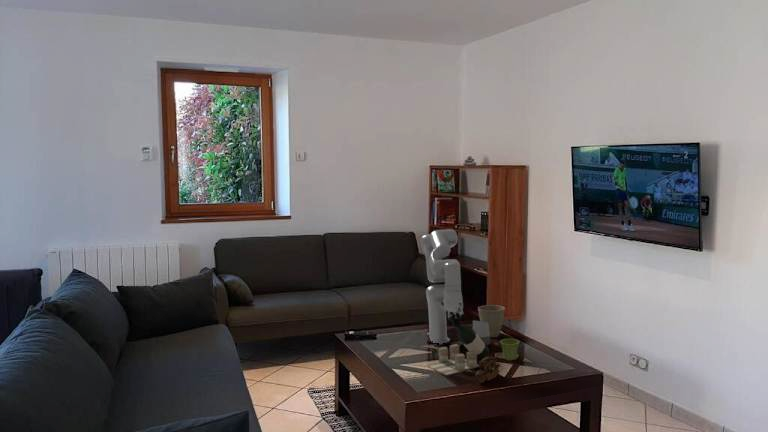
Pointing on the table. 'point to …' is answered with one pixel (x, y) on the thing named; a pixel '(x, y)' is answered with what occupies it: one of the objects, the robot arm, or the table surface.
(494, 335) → the plant pot
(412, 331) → the table surface
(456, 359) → the rest
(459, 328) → the wine bottle
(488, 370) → the wooden carving
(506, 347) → the plant pot
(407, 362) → the table surface
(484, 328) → the smart speaker
